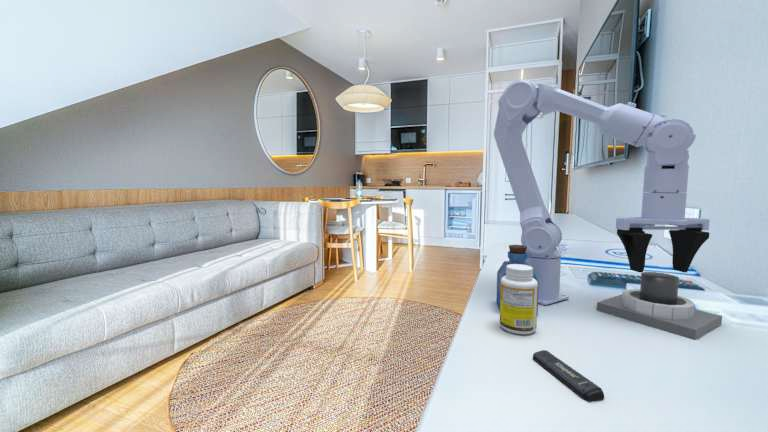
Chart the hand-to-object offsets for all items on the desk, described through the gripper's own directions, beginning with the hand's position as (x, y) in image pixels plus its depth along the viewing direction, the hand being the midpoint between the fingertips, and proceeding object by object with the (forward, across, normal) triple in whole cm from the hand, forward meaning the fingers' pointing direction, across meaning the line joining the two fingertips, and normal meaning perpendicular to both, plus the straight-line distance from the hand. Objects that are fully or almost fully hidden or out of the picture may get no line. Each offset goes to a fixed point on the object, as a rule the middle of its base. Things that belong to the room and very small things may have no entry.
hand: (658, 270), depth 58 cm
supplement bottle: (+8, -26, -5) cm, 28 cm away
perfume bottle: (+9, -23, +4) cm, 25 cm away
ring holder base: (+8, 0, 0) cm, 8 cm away
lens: (+7, 0, 0) cm, 7 cm away
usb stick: (+9, -26, -18) cm, 33 cm away
